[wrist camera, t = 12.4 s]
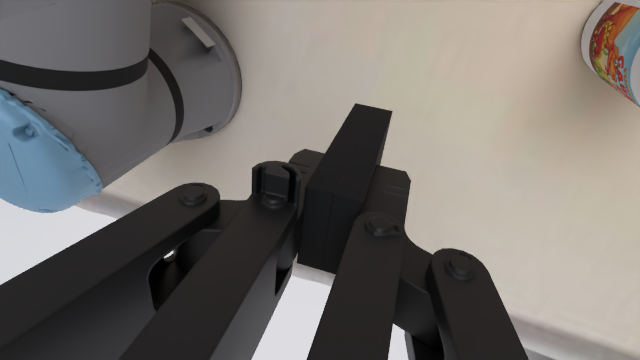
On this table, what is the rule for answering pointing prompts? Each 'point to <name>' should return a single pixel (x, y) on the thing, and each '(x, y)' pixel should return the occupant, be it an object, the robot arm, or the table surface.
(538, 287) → the table surface
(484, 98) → the table surface
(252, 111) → the table surface
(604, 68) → the milk bottle
